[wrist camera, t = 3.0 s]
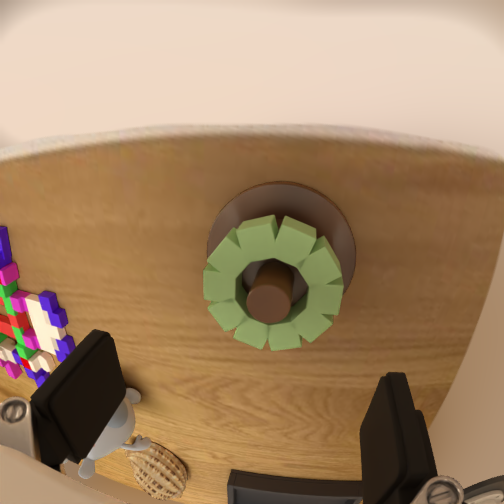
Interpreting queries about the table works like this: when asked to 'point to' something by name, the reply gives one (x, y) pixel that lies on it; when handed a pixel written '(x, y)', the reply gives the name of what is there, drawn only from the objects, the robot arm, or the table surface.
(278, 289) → the stand
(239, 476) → the tray
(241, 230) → the ring
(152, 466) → the seashell
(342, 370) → the table surface
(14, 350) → the building block set
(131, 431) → the toy figure
